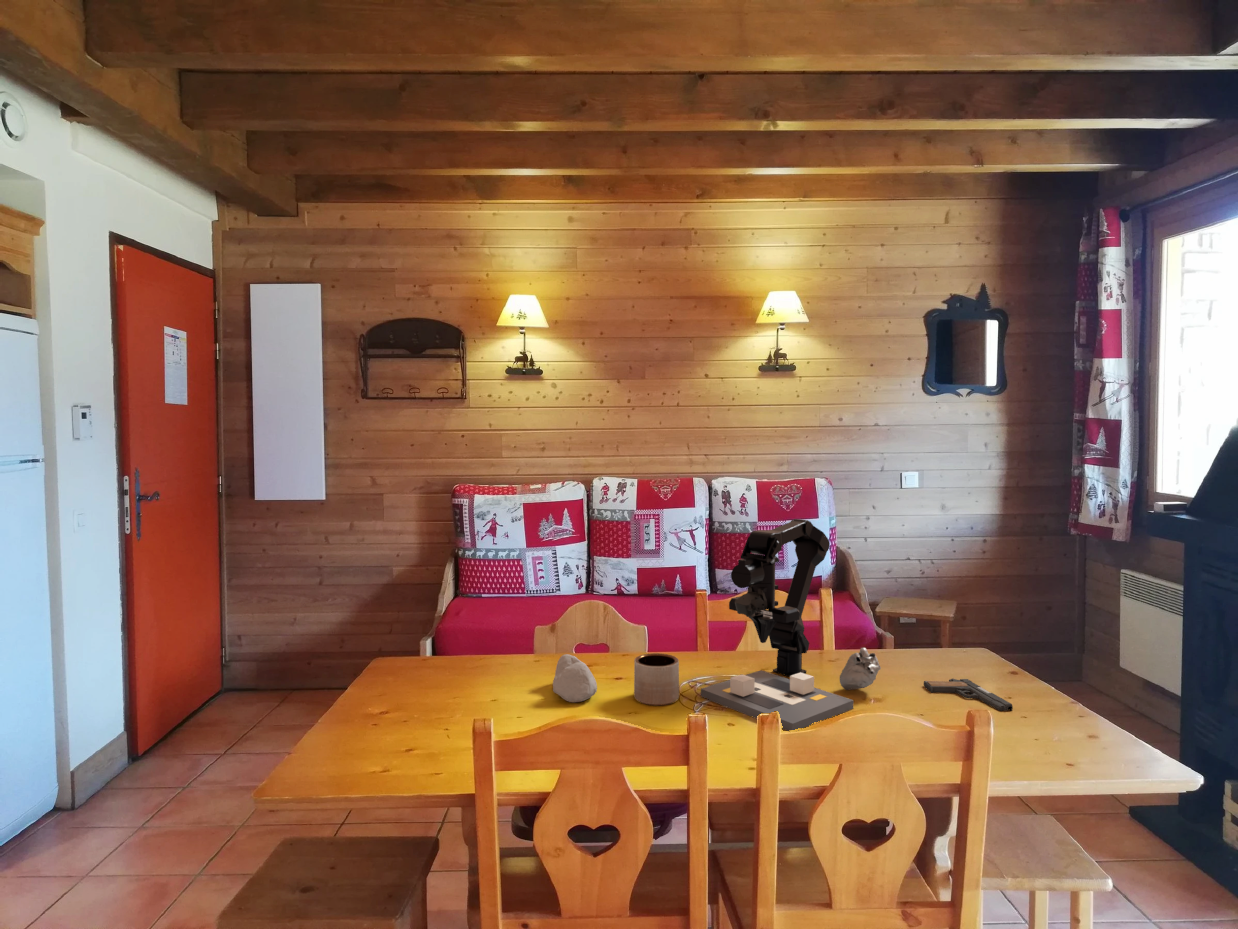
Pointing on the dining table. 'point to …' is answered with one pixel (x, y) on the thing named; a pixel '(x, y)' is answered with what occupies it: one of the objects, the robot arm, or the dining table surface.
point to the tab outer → (742, 685)
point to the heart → (859, 670)
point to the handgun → (968, 692)
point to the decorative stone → (573, 679)
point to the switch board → (780, 701)
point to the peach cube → (802, 683)
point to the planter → (656, 679)
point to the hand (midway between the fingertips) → (763, 642)
